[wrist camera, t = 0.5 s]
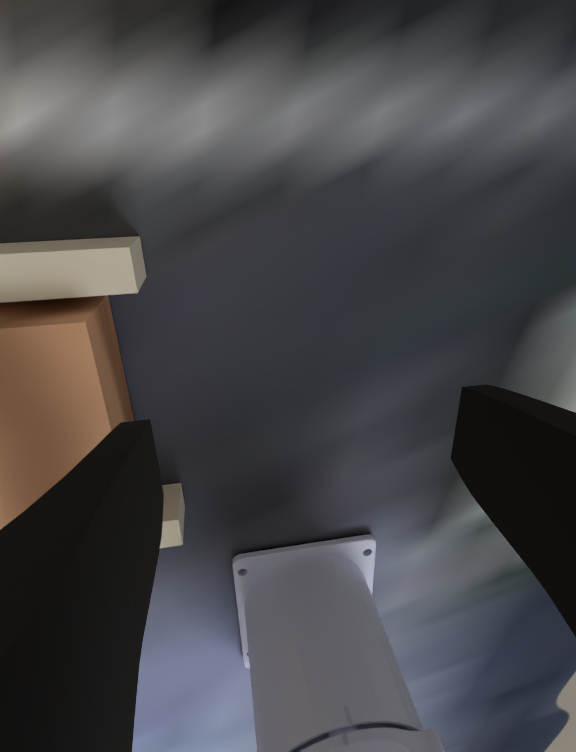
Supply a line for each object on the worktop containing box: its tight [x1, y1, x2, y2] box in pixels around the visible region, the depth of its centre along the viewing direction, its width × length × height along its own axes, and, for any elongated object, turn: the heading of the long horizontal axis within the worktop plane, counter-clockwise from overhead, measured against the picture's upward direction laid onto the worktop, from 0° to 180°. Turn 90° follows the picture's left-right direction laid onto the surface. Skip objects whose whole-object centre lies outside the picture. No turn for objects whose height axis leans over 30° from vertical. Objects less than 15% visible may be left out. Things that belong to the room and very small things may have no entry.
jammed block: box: [0, 295, 134, 529], centre depth 17 cm, size 5×9×4 cm, turn 2°
